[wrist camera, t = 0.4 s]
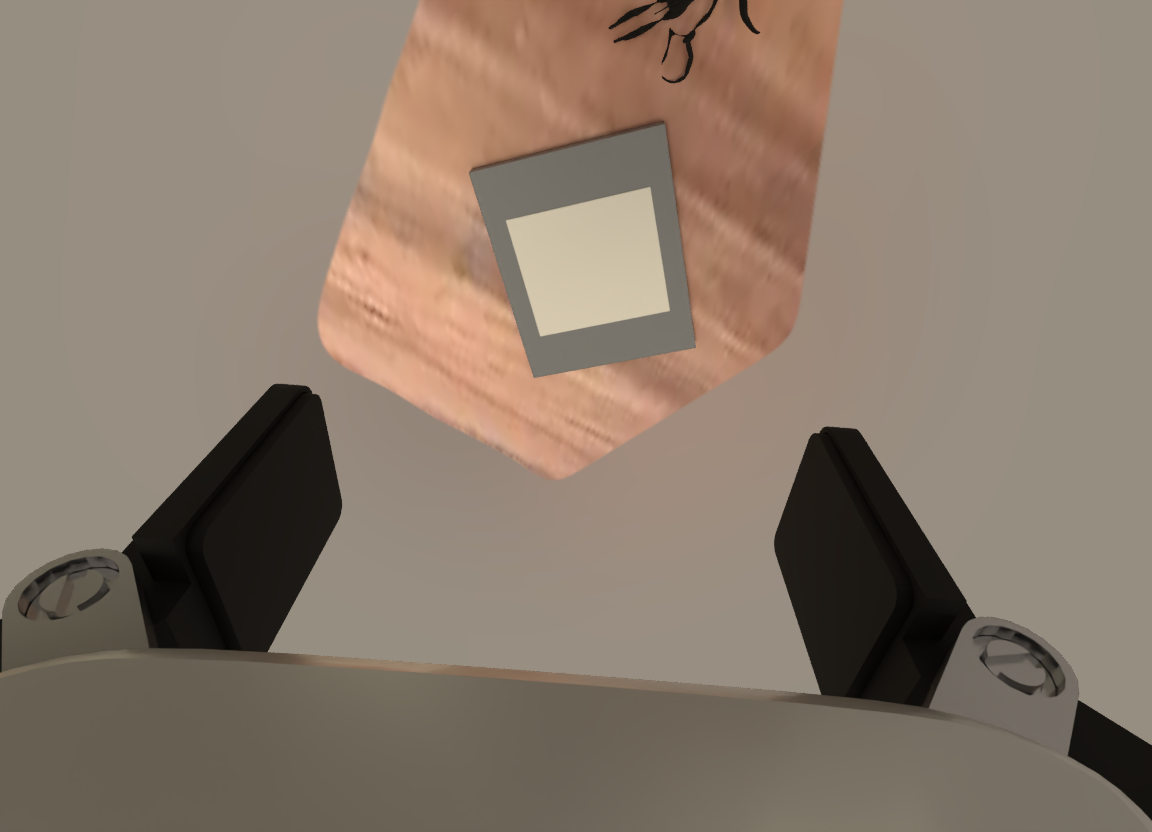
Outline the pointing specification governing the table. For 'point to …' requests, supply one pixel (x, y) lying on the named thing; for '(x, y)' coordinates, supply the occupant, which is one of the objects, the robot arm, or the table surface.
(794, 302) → the table surface
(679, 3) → the creature
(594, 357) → the grey picture mat
